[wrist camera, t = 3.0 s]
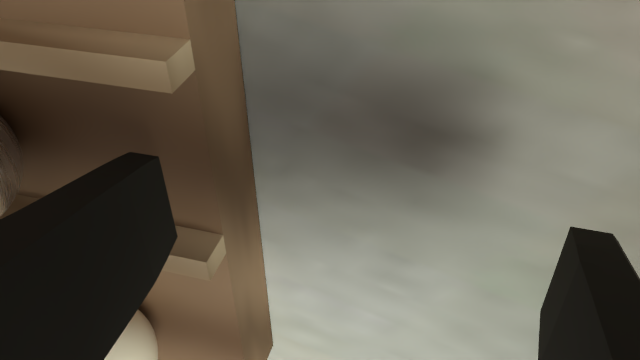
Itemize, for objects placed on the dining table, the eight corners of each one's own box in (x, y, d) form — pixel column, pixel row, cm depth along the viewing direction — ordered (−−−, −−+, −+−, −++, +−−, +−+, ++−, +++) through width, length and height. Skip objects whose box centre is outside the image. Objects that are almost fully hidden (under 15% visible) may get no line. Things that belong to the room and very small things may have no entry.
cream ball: (187, 357, 17) (130, 461, 14) (94, 333, 18) (25, 428, 15) (167, 285, 15) (97, 391, 12) (63, 261, 16) (-22, 358, 13)
